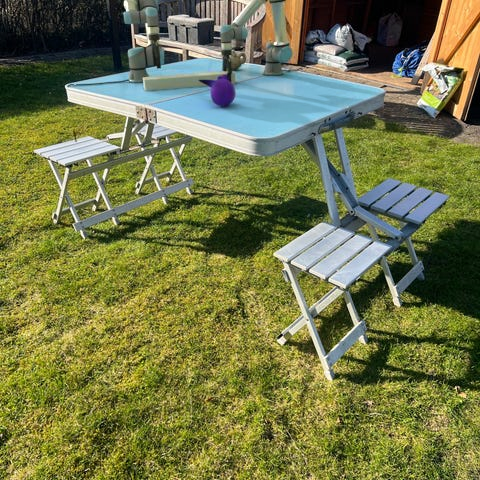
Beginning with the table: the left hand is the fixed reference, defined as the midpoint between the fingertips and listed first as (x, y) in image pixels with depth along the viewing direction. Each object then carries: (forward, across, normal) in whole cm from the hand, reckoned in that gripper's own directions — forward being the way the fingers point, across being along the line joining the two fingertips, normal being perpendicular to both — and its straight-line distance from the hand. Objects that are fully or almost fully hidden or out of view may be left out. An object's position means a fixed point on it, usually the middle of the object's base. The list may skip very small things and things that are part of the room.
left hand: (157, 67), depth 314 cm
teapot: (+13, +40, -70) cm, 81 cm away
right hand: (+13, -7, -49) cm, 51 cm away
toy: (+14, -66, -25) cm, 72 cm away
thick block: (+13, -6, -21) cm, 26 cm away
